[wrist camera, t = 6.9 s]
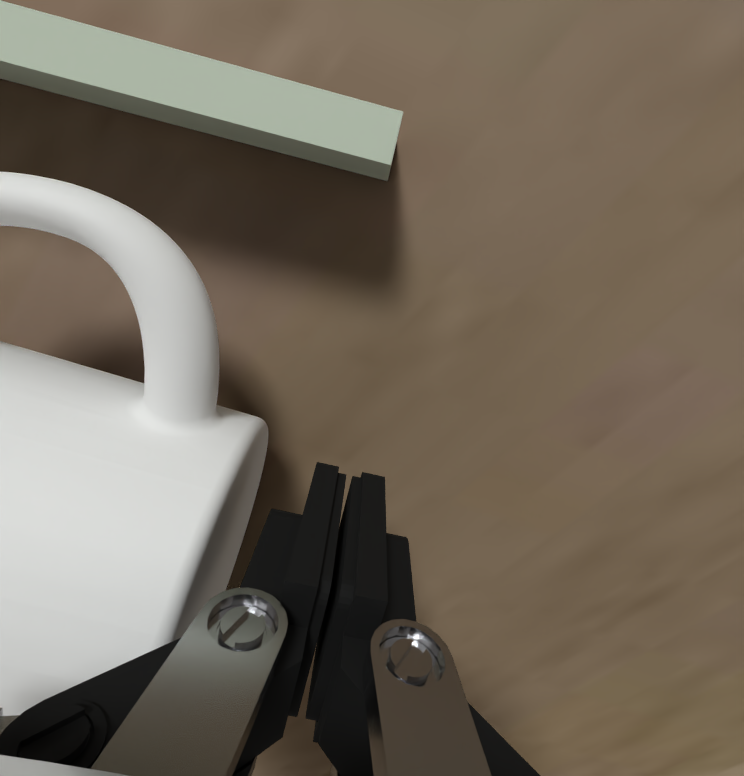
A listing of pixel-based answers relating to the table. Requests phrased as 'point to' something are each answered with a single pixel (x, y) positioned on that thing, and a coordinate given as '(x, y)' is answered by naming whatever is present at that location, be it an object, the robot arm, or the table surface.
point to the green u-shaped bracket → (195, 92)
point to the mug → (114, 465)
